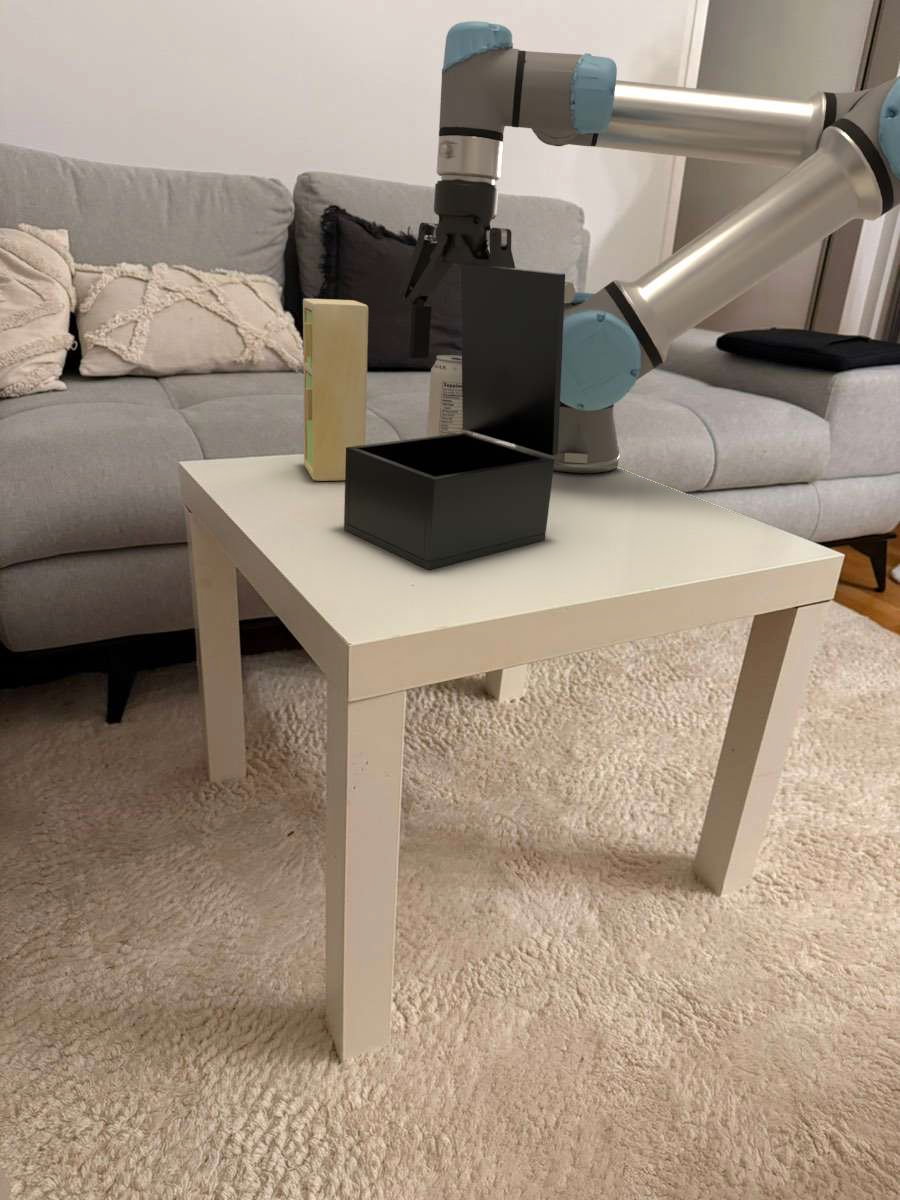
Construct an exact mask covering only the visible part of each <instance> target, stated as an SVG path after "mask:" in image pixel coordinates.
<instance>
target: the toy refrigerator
mask: <svg viewBox="0 0 900 1200" xmlns="http://www.w3.org/2000/svg"><path fill="white" fill-rule="evenodd" d="M302 324H303V325H302V338H303V341H302V345H303V346H302V348H303V350H302V351H303V352H302V353H303V354H302V355H303V356H302V357H303V359H302V361H303V363H302V365H303V466H304V468H305V469H306V471H307V472H308V474H309V475H310V477H311V479H312V480H313V481H315V482H316V481H317V482H318V481H319V482H320V481H321V482H323V481H324V482H325V481H326V482H327V481H328V482H330V481H345V465H346V447H353V446H361V445H366V438H367V437H366V434H367V433H366V431H367V394H368V393H367V391H368V390H367V389H368V387H367V385H368V350H369V349H368V347H369V346H368V343H369V306H368V305H367V304H365V303H363V302H360V301H357V300H353V299H352V300H351V299H327V298H303V300H302Z"/></svg>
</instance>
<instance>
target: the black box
mask: <svg viewBox="0 0 900 1200" xmlns="http://www.w3.org/2000/svg"><path fill="white" fill-rule="evenodd" d="M554 462H555V460H554V459H551V458H548V457H544V456H541V455H538V454H534V453H531V452H528V451H524V450H521V449H518V448H515V446H511V445H507V444H504V443H501V442H498V441H494V440H491V439H487V438H484V437H480V436H476V435H474V434H473V435H471V434H468V433H458V434H450V435H442V436H433V437H427V436H425V437H419V438H410V439H402V440H395V441H394V440H393V441H387V442H386V441H385V442H379V443H371V444H365V445H361V446H353V447H346V465H345V480H344V507H343V509H344V510H343V514H344V515H343V522H344V523H343V530H344V531H345V532H348V533H350V534H353V535H354V536H355V537H356V536H357V537H358V538H360V539H363V540H365V541H367V542H369V543H371V544H373V545H376V546H377V547H380V548H382V549H383V550H386V551H388V552H390V553H392V554H394V555H396V556H398V557H401V558H403V559H404V560H407V561H409V562H411V563H413V564H415V565H418V566H419V567H421V568H424V569H426V570H428V571H429V570H433V569H437V568H441V567H445V566H448V565H453V564H457V563H461V562H465V561H468V560H472V559H476V558H480V557H484V556H488V555H492V554H495V553H501V552H503V551H507V550H511V549H515V548H519V547H522V546H527V545H531V544H534V543H539V542H542V541H545V540H546V533H547V526H548V518H549V509H550V501H551V493H552V485H553V478H554V471H555V470H554Z"/></svg>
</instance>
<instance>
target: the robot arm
mask: <svg viewBox="0 0 900 1200" xmlns="http://www.w3.org/2000/svg"><path fill="white" fill-rule="evenodd" d="M444 45H445V46H444V55H443V65H442V68H441V84H440V105H439V125H438V126H439V127H438V128H439V129H438V142H437V144H438V146H437V157H436V174H437V175H438V176H439V177H440V180H437V182H436V183H434V184H435V185H434V201H433V213H434V214H435V215H436V216H438V222H437V223H431V222H420V224H419V227H418V233H417V241H416V244H415V247H414V249H413V252H412V255H411V258H410V261H409V263H408V265H407V268H406V272H405V274H404V277H403V280H402V282H401V285H400V288H399V291H398V296H399V297H400V298H401V299H404V300H405V301H406V302H407V303H408V305H409V314H408V315H409V316H408V318H409V319H408V327H409V331H410V333H409V334H410V335H409V336H410V337H409V352H408V353H409V355H408V358H409V359H429V351H430V339H431V338H430V336H431V323H432V321H431V320H432V307H433V306H431V305H432V304H431V301H430V299H431V298H432V296H433V295H434V293H435V292H436V290H437V288H438V287H439V286H440V284H441V282H442V281H443V279H444V278H445V276H446V274H447V272H448V271H449V270H450V269H451V268H452V267H454V266H459V267H461V264H464V263H469V264H478V265H487V266H497V267H506V268H515V269H516V264H515V261H514V260H515V259H514V257H513V256H514V255H513V252H512V230H511V229H510V228H504V227H495V226H494V227H492V220H495V218H496V217H497V214H498V213H497V212H498V201H499V191H500V189H499V188H498V185H496V184H495V183H496V182H495V181H498V180H500V179H501V170H502V169H501V168H502V157H503V143H504V132H505V127H512V128H517V129H518V128H523V129H531V131H532V132H533V133H534V135H535V136H536V137H537V139H538V140H539V141H540V142H542V143H544V144H545V145H547V146H553V147H564V146H568V145H571V146H581V147H592V148H593V147H595V148H604V149H612V150H613V149H614V150H622V151H629V152H630V151H631V152H639V153H648V154H656V155H657V154H658V155H666V156H676V157H685V158H694V159H701V160H712V161H720V162H729V163H739V164H747V165H757V166H765V167H774V168H783V169H789V171H787V172H786V173H785V174H783V175H782V176H781V177H779V178H777V179H776V180H775V181H774V182H772V183H771V184H769V185H768V186H766V187H765V188H764V189H762V190H761V191H760V192H758V193H756V195H754V196H752V197H751V198H750V199H748V200H746V201H745V202H744V203H742V204H741V205H740V206H738V207H737V208H735V209H734V210H733V211H731V212H730V213H728V214H727V215H726V216H725V217H723V218H721V219H719V220H718V221H717V222H716V223H715V224H713V225H712V226H710V227H709V228H708V229H706V230H705V231H703V232H702V233H700V234H699V235H698V236H696V237H694V238H693V239H692V240H691V241H689V242H688V243H685V245H684V246H682V247H680V249H678V250H677V251H675V252H673V253H672V254H671V255H670V256H668V257H667V258H665V259H664V260H662V261H661V262H660V263H658V264H657V265H655V266H654V267H653V268H651V269H650V270H648V271H647V272H646V273H643V275H642V276H640V277H639V278H637V279H635V280H634V281H627V280H619V279H614V280H612V281H611V282H609V283H608V284H607V285H605V286H604V287H603V288H601V289H600V290H598V291H597V292H596V293H591V292H576V291H575V296H574V299H573V300H572V302H570V303H564V320H563V344H562V368H561V392H560V416H559V440H558V454H557V455H554V456H552V455H549V454H545V453H542V452H539V451H535V450H532V449H528V448H525V447H522V446H518V445H515V444H514V448H518V449H521V450H524V451H528V452H531V453H534V454H538V455H541V456H544V457H548V458H551V459H554V460H555V462H554V470H553V471H555V472H564V473H578V474H594V473H595V474H596V473H605V472H610V471H614V470H615V469H616V468H617V467H618V466H619V460H620V447H619V445H618V437H617V430H616V428H617V427H616V422H615V415H614V407H615V404H617V403H618V402H620V401H621V400H622V399H623V398H624V397H625V396H626V395H627V394H628V393H629V392H630V390H631V389H632V388H633V387H634V385H635V384H636V382H637V381H639V380H640V379H641V378H642V377H644V376H645V375H647V374H648V373H650V372H651V371H652V370H654V369H656V368H657V367H658V366H660V365H662V364H664V363H665V362H666V360H667V356H668V353H669V348H670V346H671V344H672V342H674V341H675V340H677V339H678V338H679V337H681V336H683V335H684V334H685V333H687V332H689V331H690V330H691V329H693V328H694V327H696V326H698V325H699V324H700V323H702V322H704V320H706V319H708V318H709V317H711V316H712V315H714V314H715V313H716V312H718V311H719V310H721V309H722V308H724V307H725V306H727V305H728V304H730V303H732V302H733V301H735V299H737V298H739V297H740V296H741V295H743V294H745V293H746V292H748V291H749V290H750V289H752V288H753V287H755V286H757V285H758V284H759V283H760V282H762V281H763V280H765V279H767V278H768V277H770V276H771V275H772V274H774V273H776V272H777V271H779V270H780V269H781V268H782V267H784V266H786V265H787V264H789V263H790V262H792V261H793V260H795V259H796V258H798V257H799V256H801V255H802V254H804V253H805V252H806V251H808V250H810V249H811V248H813V247H814V246H815V245H817V244H818V243H820V242H822V241H823V240H825V239H826V238H827V237H829V236H830V235H831V234H833V233H835V232H836V231H838V230H839V229H841V228H842V227H843V226H845V225H846V224H848V223H849V222H850V221H852V220H855V219H858V220H864V221H872V222H873V221H876V220H878V219H880V218H881V217H882V216H884V215H885V214H886V213H887V212H888V213H889V211H892V210H893V209H894V208H896V207H897V206H899V205H900V75H898V76H896V77H894V78H893V79H890V80H888V81H885V82H883V83H881V84H879V85H877V86H874V87H872V88H871V87H870V88H867V89H863V90H858V91H851V92H829V91H828V92H827V91H817V92H815V93H814V94H813V95H812V96H810V97H809V98H808V99H801V98H800V99H799V98H790V97H781V96H771V95H761V94H753V93H743V92H733V91H725V90H724V91H723V90H715V89H703V88H695V87H685V86H678V85H677V86H676V85H666V84H656V83H648V82H639V81H637V82H636V81H629V80H628V81H627V80H619V79H617V73H618V72H617V71H618V68H617V64H616V62H615V60H614V59H612V58H611V57H605V56H597V55H592V54H591V53H587V52H585V53H584V54H578V53H577V54H576V53H562V52H560V53H559V52H543V51H529V50H521V49H519V48H514V43H513V33H512V31H511V30H510V29H509V28H508V27H507V26H504V25H502V24H498V23H491V22H490V23H489V22H487V21H478V20H477V21H476V20H475V21H474V20H472V21H470V20H469V21H462V22H458V23H455V24H454V25H452V26H451V27H450V28H449V29H448V31H447V34H446V36H445V44H444Z"/></svg>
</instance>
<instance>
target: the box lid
mask: <svg viewBox="0 0 900 1200" xmlns="http://www.w3.org/2000/svg"><path fill="white" fill-rule="evenodd" d="M575 292H576V286H575V284H574V283H573V282H570V281H566V273H561V272H552V271H542V270H535V269H534V270H533V269H531V270H530V269H523V268H516V267H515V268H506V267H497V266H487V265H478V264H469V263H464V264H461V266H460V310H461V312H460V318H461V319H460V322H461V323H460V326H461V327H460V329H461V330H460V332H461V356H462V415H463V429H464V430H468V431H471V432H473V434H474V433H475V434H478V435H481V436H485V437H488V438H492V439H495V440H498V441H502V442H505V443H508V444H512V445H514V446H515V445H518V446H522V447H525V448H528V449H532V450H535V451H539V452H542V453H545V454H549V455H552V456H554V455H557V454H558V440H559V416H560V392H561V368H562V344H563V320H564V303H570V302H572V300H573V299H574V296H575Z"/></svg>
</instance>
